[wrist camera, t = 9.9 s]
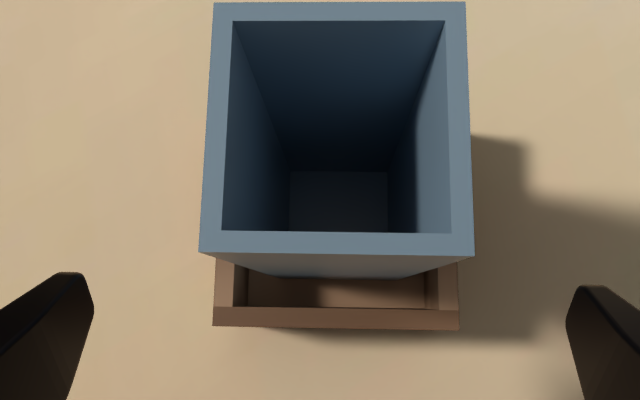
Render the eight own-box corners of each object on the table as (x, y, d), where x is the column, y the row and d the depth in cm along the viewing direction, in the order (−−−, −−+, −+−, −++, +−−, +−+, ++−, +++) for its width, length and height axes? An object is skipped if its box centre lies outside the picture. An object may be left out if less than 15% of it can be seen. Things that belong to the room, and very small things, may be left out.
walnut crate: (438, 324, 22) (459, 330, 18) (234, 321, 23) (212, 326, 19) (433, 128, 24) (451, 94, 20) (243, 127, 24) (224, 94, 20)
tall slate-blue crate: (396, 280, 22) (474, 255, 9) (279, 278, 22) (198, 251, 9) (395, 166, 23) (465, 1, 10) (282, 165, 23) (213, 2, 10)
